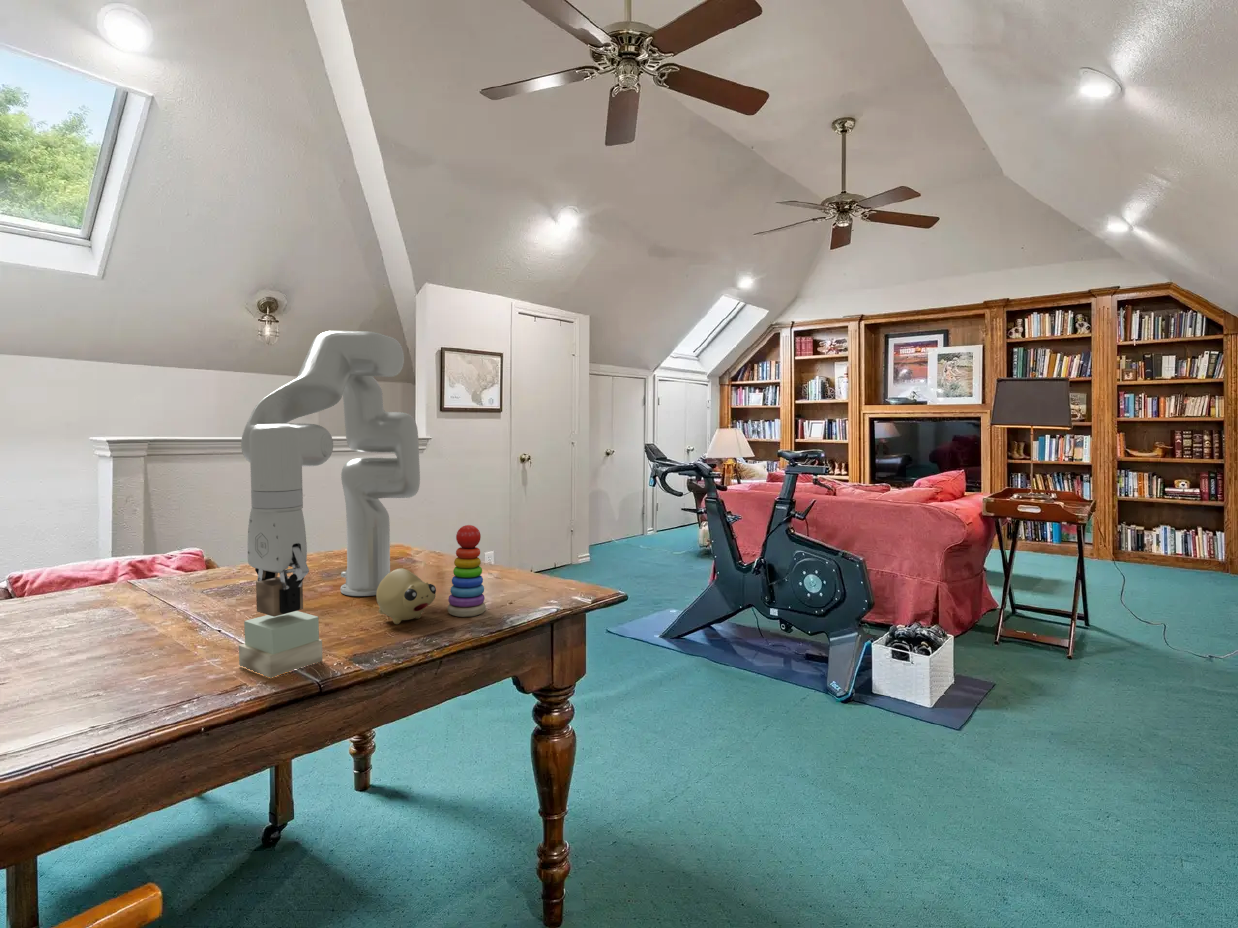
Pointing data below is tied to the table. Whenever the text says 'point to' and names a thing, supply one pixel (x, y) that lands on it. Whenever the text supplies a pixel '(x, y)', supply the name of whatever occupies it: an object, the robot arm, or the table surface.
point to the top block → (281, 631)
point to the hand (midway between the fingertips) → (280, 607)
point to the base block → (280, 658)
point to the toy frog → (403, 595)
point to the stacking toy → (467, 576)
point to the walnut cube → (271, 596)
